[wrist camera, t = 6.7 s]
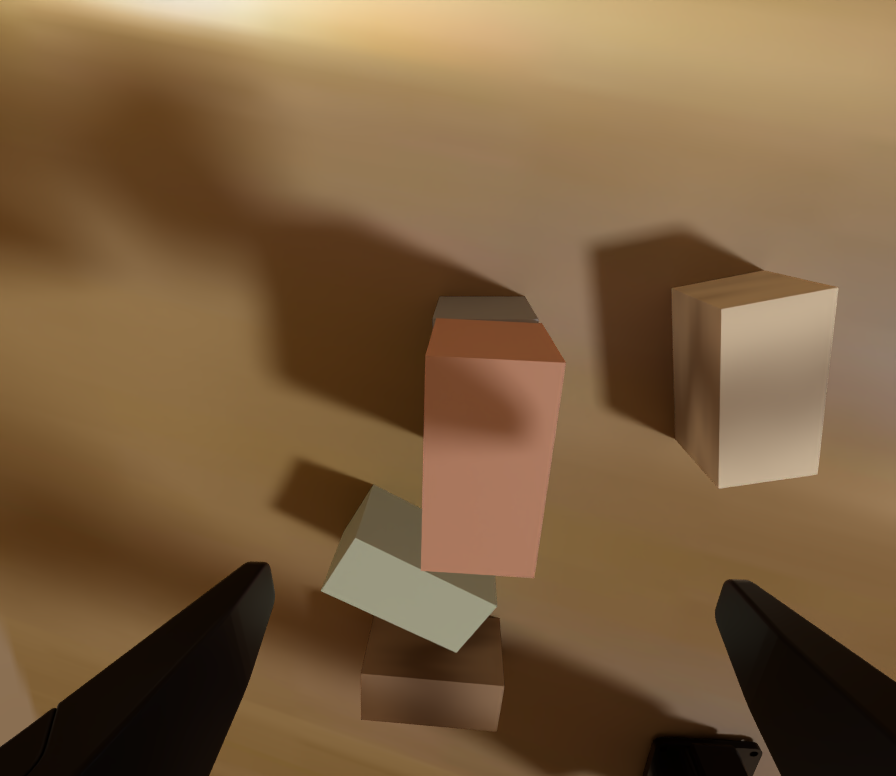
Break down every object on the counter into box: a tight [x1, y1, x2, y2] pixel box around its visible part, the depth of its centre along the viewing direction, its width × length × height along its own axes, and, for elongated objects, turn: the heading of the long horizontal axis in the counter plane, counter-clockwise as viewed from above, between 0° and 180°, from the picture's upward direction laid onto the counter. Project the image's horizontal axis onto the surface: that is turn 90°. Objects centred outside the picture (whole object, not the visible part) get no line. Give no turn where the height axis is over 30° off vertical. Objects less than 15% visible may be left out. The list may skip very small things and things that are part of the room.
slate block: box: [433, 296, 538, 327], centre depth 18 cm, size 7×4×4 cm, turn 0°
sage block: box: [321, 484, 497, 653], centre depth 22 cm, size 7×4×4 cm, turn 59°
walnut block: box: [361, 616, 504, 732], centre depth 24 cm, size 7×4×4 cm, turn 86°
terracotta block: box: [421, 318, 566, 578], centre depth 14 cm, size 7×4×4 cm, turn 178°
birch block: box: [671, 270, 838, 489], centre depth 17 cm, size 7×4×4 cm, turn 12°
